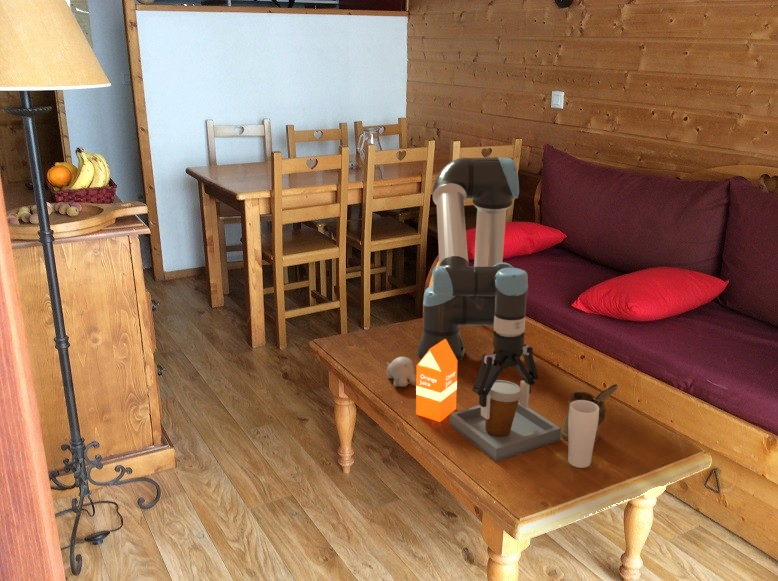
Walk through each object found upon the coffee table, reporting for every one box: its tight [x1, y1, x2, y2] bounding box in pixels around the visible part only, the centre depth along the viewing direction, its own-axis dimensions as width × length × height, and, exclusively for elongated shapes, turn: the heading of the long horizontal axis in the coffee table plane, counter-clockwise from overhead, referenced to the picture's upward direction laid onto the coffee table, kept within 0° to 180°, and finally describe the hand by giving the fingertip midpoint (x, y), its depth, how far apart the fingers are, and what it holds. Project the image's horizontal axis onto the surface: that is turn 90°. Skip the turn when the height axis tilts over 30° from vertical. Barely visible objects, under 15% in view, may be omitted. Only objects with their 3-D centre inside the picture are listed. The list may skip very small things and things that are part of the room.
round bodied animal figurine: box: [386, 356, 417, 388], centre depth 207 cm, size 7×12×8 cm, turn 30°
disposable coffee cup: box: [484, 379, 522, 436], centre depth 177 cm, size 10×10×12 cm
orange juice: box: [415, 339, 459, 423], centre depth 187 cm, size 8×9×20 cm
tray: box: [449, 402, 562, 463], centre depth 179 cm, size 20×20×4 cm
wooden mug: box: [560, 384, 618, 443], centre depth 173 cm, size 9×14×18 cm, turn 37°
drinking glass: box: [567, 400, 599, 469], centre depth 164 cm, size 7×7×15 cm
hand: (504, 411), depth 178 cm, fingers open, 11 cm apart
